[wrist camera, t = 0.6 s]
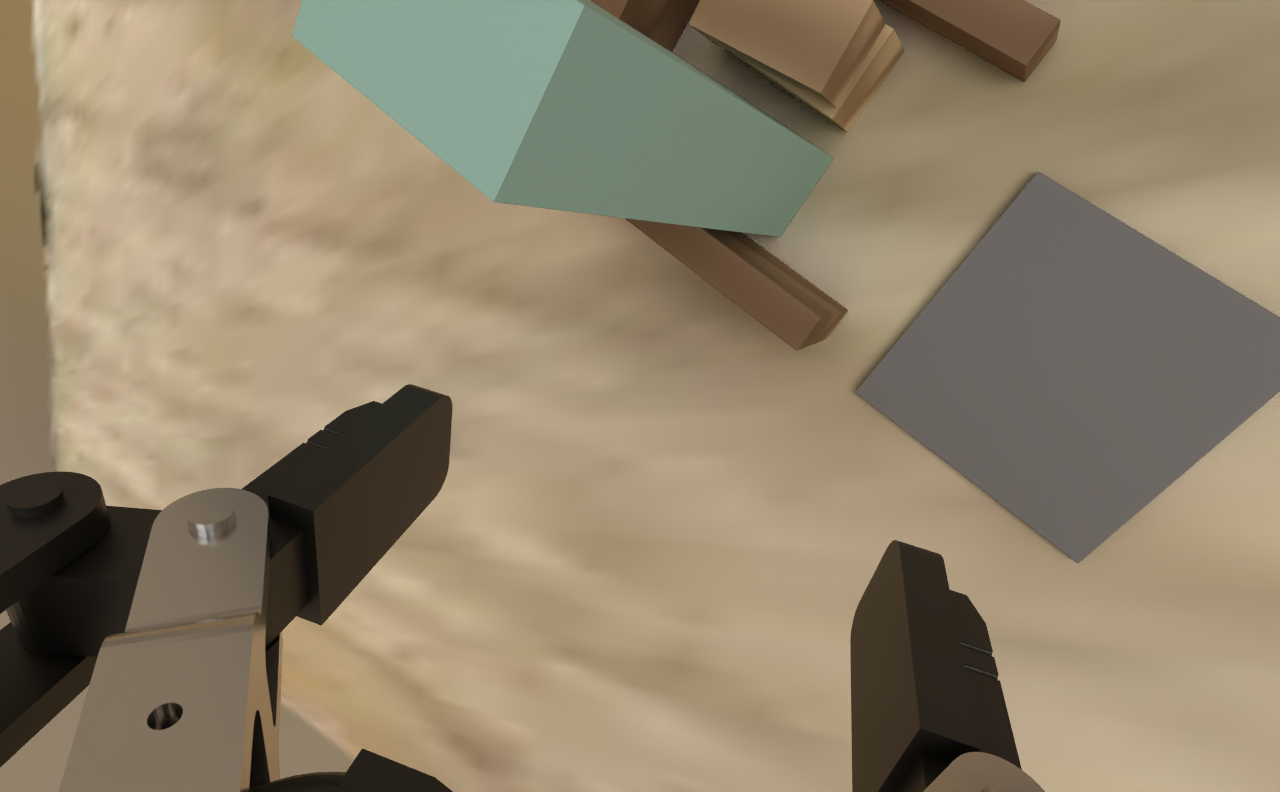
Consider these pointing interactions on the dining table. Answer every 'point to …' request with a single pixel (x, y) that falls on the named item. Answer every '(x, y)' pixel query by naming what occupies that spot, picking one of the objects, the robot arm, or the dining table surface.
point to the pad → (1076, 367)
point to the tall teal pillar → (567, 110)
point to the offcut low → (862, 85)
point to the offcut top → (796, 38)
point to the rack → (740, 268)
